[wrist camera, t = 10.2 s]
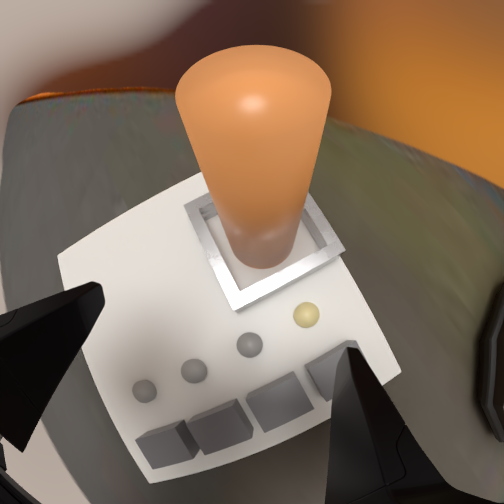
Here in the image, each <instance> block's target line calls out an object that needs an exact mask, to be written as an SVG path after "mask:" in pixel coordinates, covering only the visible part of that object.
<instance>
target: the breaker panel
mask: <svg viewBox="0 0 504 504" xmlns="http://www.w3.org/2000/svg"><path fill="white" fill-rule="evenodd" d="M208 192H209V190H208V187H207V185H206V182H205V179H204V177H203V174H202V172H200V173H198V174H196V175H194V176H192V177H190V178H188V179H186V180H184V181H182V182H180V183H178V184H176V185H174V186H172V187H171V188H169V189H167V190H165V191H163V192H161V193H159V194H157V195H156V196H154V197H152V198H150V199H148V200H146V201H145V202H143V203H141V204H139V205H137V206H136V207H134V208H132V209H130V210H129V211H127V212H125V213H124V214H122V215H120V216H118V217H117V218H115V219H113V220H112V221H110V222H108V223H107V224H105V225H104V226H102V227H100V228H99V229H97V230H95V231H94V232H92V233H91V234H89V235H88V236H86V237H84V238H83V239H81V240H80V241H78V242H77V243H75V244H74V245H72V246H71V247H69V248H68V249H66V250H65V251H63V252H62V253H60V254H59V255H58V261H59V267H60V271H61V276H62V281H63V285H64V289H65V291H66V290H69V289H71V288H74V287H77V286H80V285H82V284H85V283H88V282H91V281H94V282H97V283H100V284H101V285H102V287H103V292H104V297H105V306H104V308H103V310H102V312H101V313H100V315H99V317H98V319H97V321H96V323H95V325H94V327H93V329H92V330H91V332H90V334H89V336H88V338H87V339H86V341H85V342H84V344H83V345H82V347H81V348H82V350H83V353H84V356H85V359H86V361H87V364H88V367H89V369H90V372H91V374H92V377H93V379H94V382H95V384H96V386H97V389H98V391H99V393H100V395H101V398H102V400H103V402H104V404H105V406H106V408H107V411H108V413H109V415H110V417H111V419H112V421H113V423H114V425H115V426H116V428H117V430H118V432H119V434H120V436H121V438H122V439H123V441H124V443H125V445H126V447H127V448H128V450H129V452H130V453H131V455H132V457H133V458H134V460H135V462H136V463H137V465H138V466H139V468H140V470H141V471H142V473H143V474H144V476H145V477H146V479H147V480H148V482H149V483H155V482H160V481H165V480H170V479H174V478H178V477H183V476H186V475H190V474H194V473H198V472H201V471H205V470H208V469H211V468H215V467H218V466H221V465H224V464H227V463H230V462H233V461H236V460H239V459H241V458H244V457H247V456H249V455H252V454H255V453H257V452H260V451H262V450H264V449H267V448H269V447H272V446H274V445H276V444H279V443H281V442H283V441H285V440H287V439H290V438H292V437H294V436H296V435H298V434H300V433H302V432H304V431H306V430H308V429H310V428H312V427H314V426H316V425H318V424H320V423H322V422H323V421H325V420H327V419H329V418H331V405H332V397H333V390H334V383H335V375H336V367H337V363H338V361H339V359H340V357H341V355H342V353H343V351H344V349H345V348H346V347H354V348H358V349H359V350H360V352H361V353H362V355H363V356H364V358H365V360H366V361H367V363H368V364H369V366H370V367H371V369H372V370H373V372H374V374H375V375H376V377H377V378H378V380H379V381H380V383H381V385H384V384H385V383H386V382H388V381H389V380H391V379H392V378H394V377H395V376H396V375H398V374H399V373H400V372H401V369H400V367H399V365H398V363H397V361H396V359H395V357H394V355H393V353H392V351H391V349H390V347H389V345H388V343H387V341H386V339H385V337H384V335H383V333H382V331H381V329H380V327H379V325H378V324H377V322H376V320H375V318H374V316H373V314H372V312H371V310H370V309H369V307H368V305H367V303H366V301H365V299H364V298H363V296H362V294H361V292H360V290H359V289H358V287H357V285H356V283H355V282H354V280H353V278H352V276H351V275H350V273H349V271H348V269H347V268H346V266H345V264H344V263H343V261H342V259H341V258H340V257H339V259H337V260H336V261H334V262H332V263H330V264H328V265H327V266H325V267H323V268H321V269H320V270H318V271H316V272H314V273H312V274H310V275H309V276H307V277H305V278H303V279H301V280H299V281H298V282H296V283H294V284H292V285H290V286H288V287H286V288H285V289H283V290H281V291H279V292H277V293H275V294H273V295H271V296H269V297H268V298H266V299H264V300H262V301H260V302H258V303H256V304H254V305H252V306H250V307H248V308H246V309H244V310H242V311H240V312H238V313H237V312H235V311H234V310H233V308H232V306H231V304H230V302H229V300H228V298H227V296H226V294H225V292H224V290H223V288H222V286H221V284H220V282H219V280H218V278H217V276H216V274H215V272H214V270H213V268H212V266H211V264H210V262H209V260H208V257H207V255H206V253H205V251H204V249H203V247H202V245H201V243H200V241H199V238H198V236H197V234H196V232H195V230H194V228H193V225H192V223H191V221H190V219H189V217H188V215H187V212H186V210H185V208H184V206H183V205H184V204H186V203H188V202H190V201H192V200H194V199H196V198H198V197H200V196H202V195H204V194H206V193H208ZM205 222H206V224H207V226H208V228H209V230H210V232H211V234H212V236H213V238H214V241H215V243H216V245H217V247H218V249H219V251H220V253H221V255H222V257H223V259H224V261H225V263H226V265H227V267H228V269H229V271H230V273H231V274H232V276H233V278H234V280H235V282H236V284H237V286H238V288H239V290H240V291H242V290H244V289H246V288H248V287H250V286H252V285H254V284H256V283H258V282H260V281H262V280H264V279H265V278H267V277H269V276H271V275H273V274H275V273H277V272H279V271H281V270H283V269H285V268H286V267H288V266H290V265H292V264H294V263H296V262H298V261H300V260H301V259H303V258H305V257H307V256H309V255H311V254H313V253H315V252H316V251H318V250H320V249H319V248H318V246H317V244H316V243H315V241H314V239H313V238H312V236H311V234H310V233H309V231H308V230H307V228H306V226H305V225H304V223H303V222H302V220H300V223H299V227H298V231H297V234H296V238H295V241H294V245H293V248H292V251H291V253H290V254H289V256H288V257H287V258H286V259H285V260H284V261H283V262H282V263H280V264H279V265H277V266H275V267H272V268H268V269H256V268H252V267H249V266H246V265H245V264H243V263H242V262H240V261H239V260H238V259H237V258H236V256H235V255H234V253H233V251H232V249H231V247H230V244H229V241H228V239H227V236H226V234H225V231H224V229H223V226H222V224H221V221H220V218H219V216H218V215H216V216H214V217H212V218H210V219H208V220H206V221H205Z"/></svg>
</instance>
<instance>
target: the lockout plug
mask: <svg viewBox="0 0 504 504" xmlns="http://www.w3.org/2000/svg"><path fill="white" fill-rule="evenodd" d="M175 98H176V104H177V107H178V110H179V112H180V115H181V118H182V121H183V123H184V126H185V129H186V131H187V134H188V137H189V140H190V142H191V145H192V148H193V150H194V153H195V156H196V158H197V161H198V164H199V166H200V169H201V172H202V174H203V177H204V179H205V182H206V185H207V187H208V190H209V193H210V195H211V198H212V200H213V203H214V206H215V208H216V211H217V213H218V216H219V218H220V221H221V224H222V226H223V229H224V231H225V234H226V236H227V239H228V241H229V244H230V247H231V249H232V251H233V253H234V255H235V256H236V258H237V259H238V260H239V261H240V262H242V263H243V264H245V265H246V266H249V267H252V268H256V269H268V268H272V267H275V266H277V265H279V264H280V263H282V262H283V261H284V260H285V259H286V258H287V257H288V256H289V254H290V253H291V251H292V248H293V245H294V241H295V238H296V234H297V231H298V227H299V223H300V220H301V216H302V212H303V209H304V205H305V201H306V197H307V193H308V190H309V186H310V182H311V178H312V174H313V170H314V166H315V162H316V158H317V154H318V150H319V146H320V142H321V137H322V133H323V129H324V125H325V120H326V116H327V112H328V107H329V102H330V98H331V85H330V82H329V79H328V77H327V75H326V74H325V72H324V71H323V70H322V69H321V68H320V67H319V66H318V65H317V64H316V63H315V62H313V61H312V60H310V59H309V58H307V57H305V56H303V55H301V54H299V53H297V52H294V51H291V50H288V49H285V48H280V47H275V46H265V45H248V46H239V47H233V48H229V49H225V50H222V51H219V52H216V53H214V54H211V55H209V56H207V57H205V58H203V59H202V60H200V61H198V62H197V63H196V64H194V65H193V66H192V67H191V68H189V69H188V71H187V72H186V73H185V74H184V75H183V76H182V78H181V79H180V81H179V83H178V86H177V89H176V94H175Z"/></svg>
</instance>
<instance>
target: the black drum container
mask: <svg viewBox="0 0 504 504" xmlns="http://www.w3.org/2000/svg"><path fill="white" fill-rule="evenodd" d="M477 398H478V400H479V402H480V404H481V406H482V408H483V410H484V412H485V414H486V417H487V419H488V421H489V423H490V426H491V428H492V430H493V433H494V435H495V437H496V439H497V440H498V441H499V442H504V283H503V286H502V290H501V291H500V292H499V293H498V294H496V297H495V300H494V303H493V307H492V310H491V313H490V316H489V318H488V321H487V324H486V327H485V329H484V332H483V335H482V337H481V340H480V342H479V374H478V388H477Z"/></svg>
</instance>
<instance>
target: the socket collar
mask: <svg viewBox="0 0 504 504" xmlns="http://www.w3.org/2000/svg"><path fill="white" fill-rule="evenodd" d="M183 206H184V208H185V210H186V212H187V215H188V217H189V219H190V221H191V223H192V225H193V228H194V230H195V232H196V234H197V236H198V238H199V241H200V243H201V245H202V247H203V249H204V251H205V253H206V255H207V257H208V260H209V262H210V264H211V266H212V268H213V270H214V272H215V274H216V276H217V278H218V280H219V282H220V284H221V286H222V288H223V290H224V292H225V294H226V296H227V298H228V300H229V302H230V304H231V306H232V308H233V310H234V311H235V312H237V313H238V312H240V311H242V310H244V309H246V308H248V307H250V306H252V305H254V304H256V303H258V302H260V301H262V300H264V299H266V298H268V297H269V296H271V295H273V294H275V293H277V292H279V291H281V290H283V289H285V288H286V287H288V286H290V285H292V284H294V283H296V282H298V281H299V280H301V279H303V278H305V277H307V276H309V275H310V274H312V273H314V272H316V271H318V270H320V269H321V268H323V267H325V266H327V265H328V264H330V263H332V262H334V261H336V260H337V259H339V257H340V256H341V255H342V254H343V253H344V252H345V248H344V247H343V245H342V243H341V242H340V240H339V239H338V237H337V235H336V234H335V232H334V231H333V229H332V227H331V226H330V224H329V223H328V221H327V220H326V218H325V217H324V215H323V213H322V212H321V210H320V209H319V207H318V206H317V204H316V203H315V201H314V200H313V198H312V197H311V195H310V194H309V192H308V193H307V197H306V201H305V205H304V209H303V212H302V216H301V220H302V222H303V223H304V225H305V226H306V228H307V230H308V231H309V233H310V234H311V236H312V238H313V239H314V241H315V243H316V244H317V246H318V248H319V249H320V250H318V251H316V252H315V253H313V254H311V255H309V256H307V257H305V258H303V259H301V260H300V261H298V262H296V263H294V264H292V265H290V266H288V267H286V268H285V269H283V270H281V271H279V272H277V273H275V274H273V275H271V276H269V277H267V278H265V279H264V280H262V281H260V282H258V283H256V284H254V285H252V286H250V287H248V288H246V289H244V290H242V291H240V290H239V288H238V286H237V284H236V282H235V280H234V278H233V276H232V274H231V273H230V271H229V269H228V267H227V265H226V263H225V261H224V259H223V257H222V255H221V253H220V251H219V249H218V247H217V245H216V243H215V241H214V238H213V236H212V234H211V232H210V230H209V228H208V226H207V224H206V222H205V221H206V220H208V219H210V218H212V217H214V216H216V215H218V213H217V211H216V208H215V206H214V203H213V200H212V198H211V195H210V193H209V192H208V193H206V194H204V195H202V196H200V197H198V198H196V199H194V200H192V201H190V202H188V203H186V204H184V205H183Z"/></svg>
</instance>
